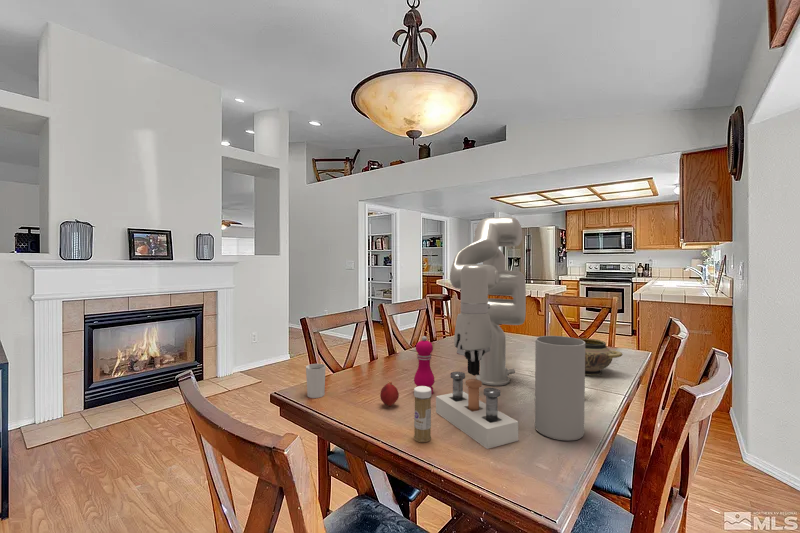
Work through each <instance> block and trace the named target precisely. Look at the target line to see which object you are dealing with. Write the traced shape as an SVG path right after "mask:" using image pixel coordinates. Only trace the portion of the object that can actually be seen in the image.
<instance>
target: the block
mask: <svg viewBox="0 0 800 533" xmlns="http://www.w3.org/2000/svg"><path fill="white" fill-rule="evenodd" d="M435 413H436V414H438V415H439V416H441V417H442V419H445V420H446V421H448V422H449V423H450V424H451V425H453V426H454V427H456V428H457V429H458V430H461V431H462V432H463V433H464V434H466V435H467V436H468V437H470V438H471V439H472V440H474V441H475V442H477V443H478V444H480V445H481V446H482V447H484V449H487V450H488V449H492V448H496V447H499V446H503V445H504V446H505V445H507V444H511V443H514V442H518V441H519V421H518V420H516V419H515V418H512V417H510V416H509V415H507V414H505V413H504V412H502V411H499V410H498V421H497V422H492V423H490V422H488V421H487V420H486V402H484V401H482V400H480V399H479V410H477V411H473V412H472V411H470V410H469V409H468V393H467V392H465V390H463V400H462V401H457V402H456V401H454V400H453V392H451V393H446V394H440V395H435Z"/></svg>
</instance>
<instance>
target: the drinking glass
mask: <svg viewBox="0 0 800 533" xmlns="http://www.w3.org/2000/svg"><path fill="white" fill-rule="evenodd" d="M305 374H306V394H307V395H306V396H307V397H308V398H311V399H318V398H322V397H324V396H325V393H326V392H325V387H326V365H325V364H324V363H311V364H308V365H306V366H305Z"/></svg>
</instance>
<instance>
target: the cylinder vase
mask: <svg viewBox="0 0 800 533" xmlns="http://www.w3.org/2000/svg"><path fill="white" fill-rule="evenodd" d="M580 339H581V338H577V337H576V338H575V337H571V336H563V335H561V336H559V335H543V336H541V335H540V336H538V337H535V348H534V349H535V352H534V354H535V364H534V365H535V368H534V370H535V371H534V372H535V374H534V376H535V379H534V383H535V384H534V427H535V429H536V430H537V432H538V433H540V434H541V435H542V436H545V437H548V438H550V439H553V440H556V441H557V440H558V441H567V442H569V441H577V440H579V439H581V438H583V436H584V435H585V406H586V405H585V401H586V400H585V395H586V394H585V393H586V392H585V389H586V386H585V385H586V383H585V382H586V375H585V342H584V341H583V340H580Z"/></svg>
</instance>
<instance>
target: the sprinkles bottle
mask: <svg viewBox="0 0 800 533" xmlns="http://www.w3.org/2000/svg"><path fill="white" fill-rule="evenodd" d="M413 396H414V413H413V414H414V415H413V416H414V417H413V419H414V420H413V421H414V422H413V423H414V424H413V426H414V432H413V433H414V434H413V439H414V441H416V442H419V443H427V442H429V441H431V439H432V437H431V434H432V433H431V432H432V431H431V428H432V427H431V426H432V406H431V405H432V404H431V402H432V401H431V400H432V394H431V388H429V387H427V386H418V387H414V388H413Z"/></svg>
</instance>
